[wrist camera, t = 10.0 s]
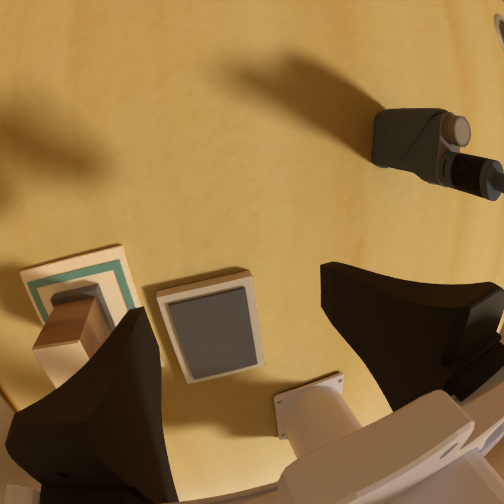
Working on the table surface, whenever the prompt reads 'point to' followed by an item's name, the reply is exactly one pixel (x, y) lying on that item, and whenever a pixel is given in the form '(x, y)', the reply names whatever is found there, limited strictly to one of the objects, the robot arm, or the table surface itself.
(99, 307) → the stamp
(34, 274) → the print sheet
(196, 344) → the ink pad
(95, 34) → the table surface
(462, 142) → the vaping device
